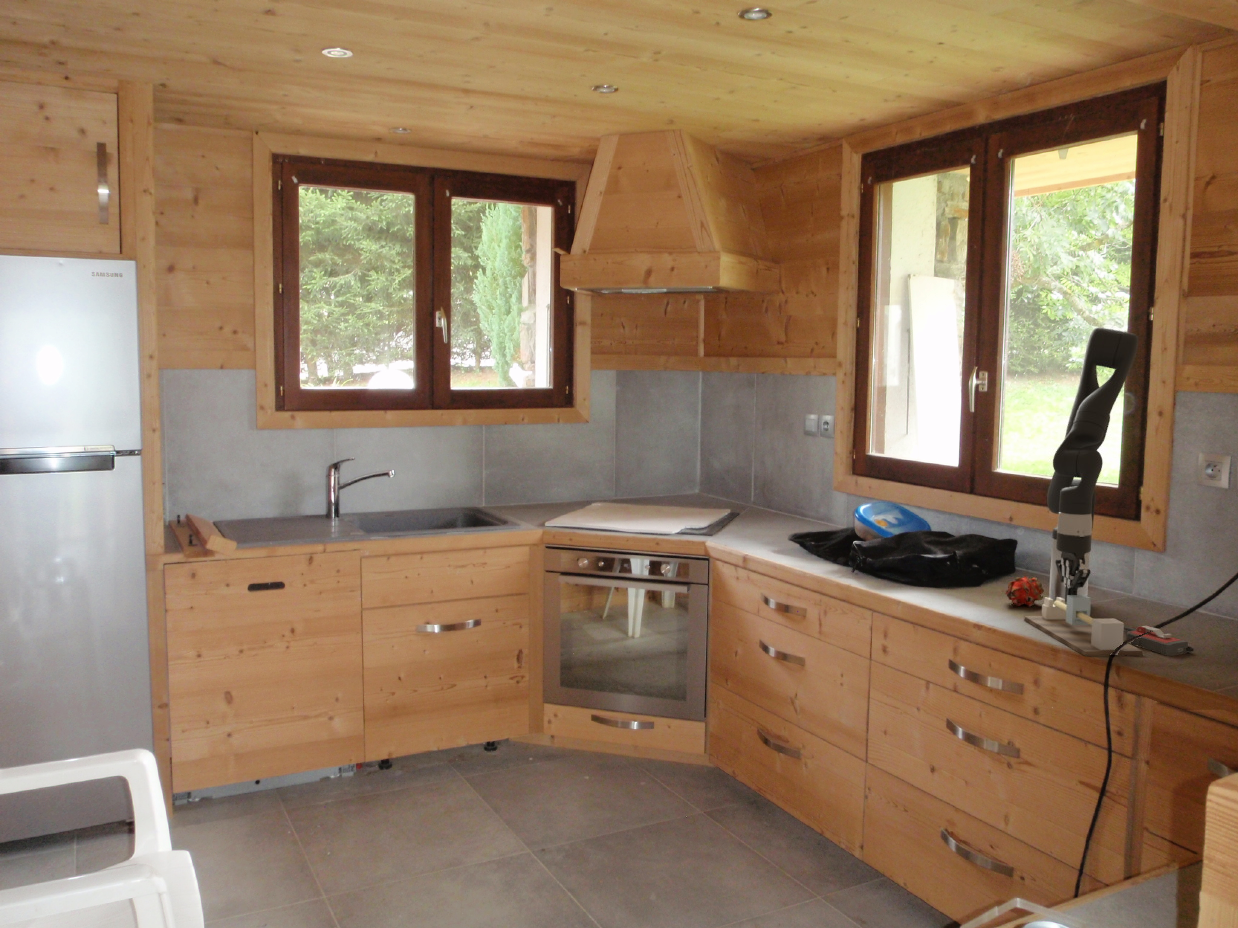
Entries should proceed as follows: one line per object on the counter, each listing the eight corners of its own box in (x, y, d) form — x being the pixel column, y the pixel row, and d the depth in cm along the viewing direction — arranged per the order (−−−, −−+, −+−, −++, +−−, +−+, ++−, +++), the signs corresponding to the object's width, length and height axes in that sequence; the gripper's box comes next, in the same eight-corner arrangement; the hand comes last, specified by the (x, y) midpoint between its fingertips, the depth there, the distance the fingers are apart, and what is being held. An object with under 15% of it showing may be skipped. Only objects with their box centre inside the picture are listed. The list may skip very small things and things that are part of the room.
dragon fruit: (1042, 608, 266) (1011, 620, 261) (1020, 585, 271) (989, 596, 266) (1057, 587, 260) (1026, 599, 255) (1034, 564, 266) (1003, 575, 260)
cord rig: (1041, 616, 247) (1042, 593, 247) (1061, 616, 247) (1062, 593, 247) (1100, 649, 219) (1101, 623, 219) (1122, 649, 219) (1124, 623, 219)
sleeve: (1065, 621, 236) (1067, 595, 235) (1083, 621, 236) (1084, 595, 235) (1072, 624, 233) (1073, 598, 232) (1089, 624, 233) (1090, 598, 232)
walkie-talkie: (1200, 654, 221) (1125, 631, 239) (1202, 635, 220) (1126, 614, 239) (1172, 659, 217) (1097, 635, 236) (1173, 639, 217) (1098, 617, 235)
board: (1024, 620, 248) (1024, 616, 248) (1075, 619, 249) (1075, 615, 248) (1084, 655, 218) (1084, 651, 218) (1142, 655, 219) (1142, 650, 219)
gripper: (1045, 526, 242) (1042, 596, 244) (1072, 536, 229) (1068, 609, 231) (1076, 526, 242) (1072, 596, 244) (1104, 536, 229) (1100, 609, 231)
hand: (1070, 602), depth 237 cm, fingers closed
